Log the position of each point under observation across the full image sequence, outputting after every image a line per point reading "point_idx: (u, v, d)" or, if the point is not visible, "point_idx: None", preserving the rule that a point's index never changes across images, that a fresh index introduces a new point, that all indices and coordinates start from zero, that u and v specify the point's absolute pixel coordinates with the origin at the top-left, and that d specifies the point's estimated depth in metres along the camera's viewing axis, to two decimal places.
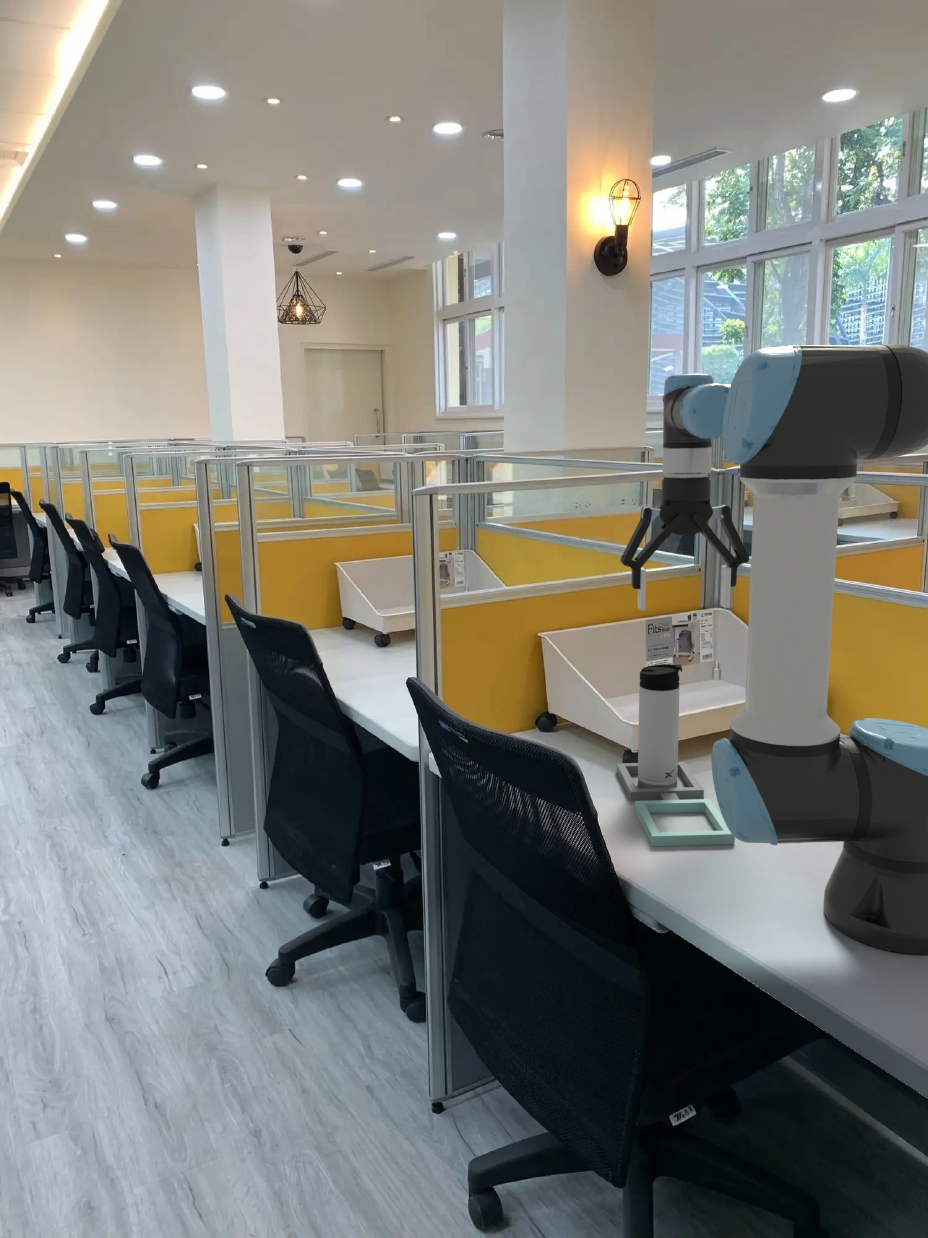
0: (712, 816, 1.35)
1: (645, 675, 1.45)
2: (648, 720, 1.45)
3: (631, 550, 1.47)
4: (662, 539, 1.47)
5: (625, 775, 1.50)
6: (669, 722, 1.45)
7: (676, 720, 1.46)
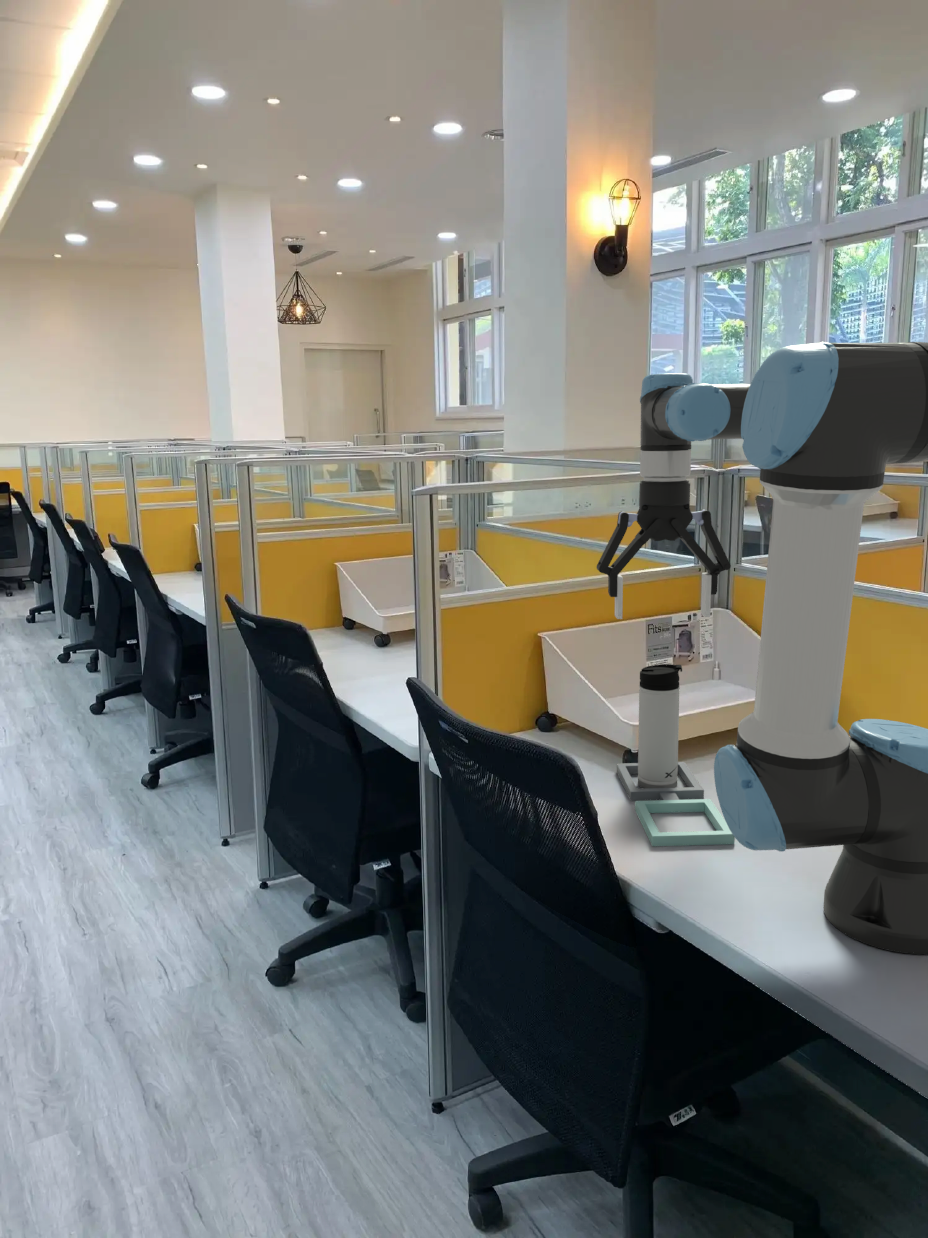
0: (712, 816, 1.35)
1: (645, 675, 1.45)
2: (648, 720, 1.45)
3: (607, 557, 1.41)
4: (639, 545, 1.41)
5: (625, 775, 1.50)
6: (669, 722, 1.45)
7: (676, 720, 1.46)
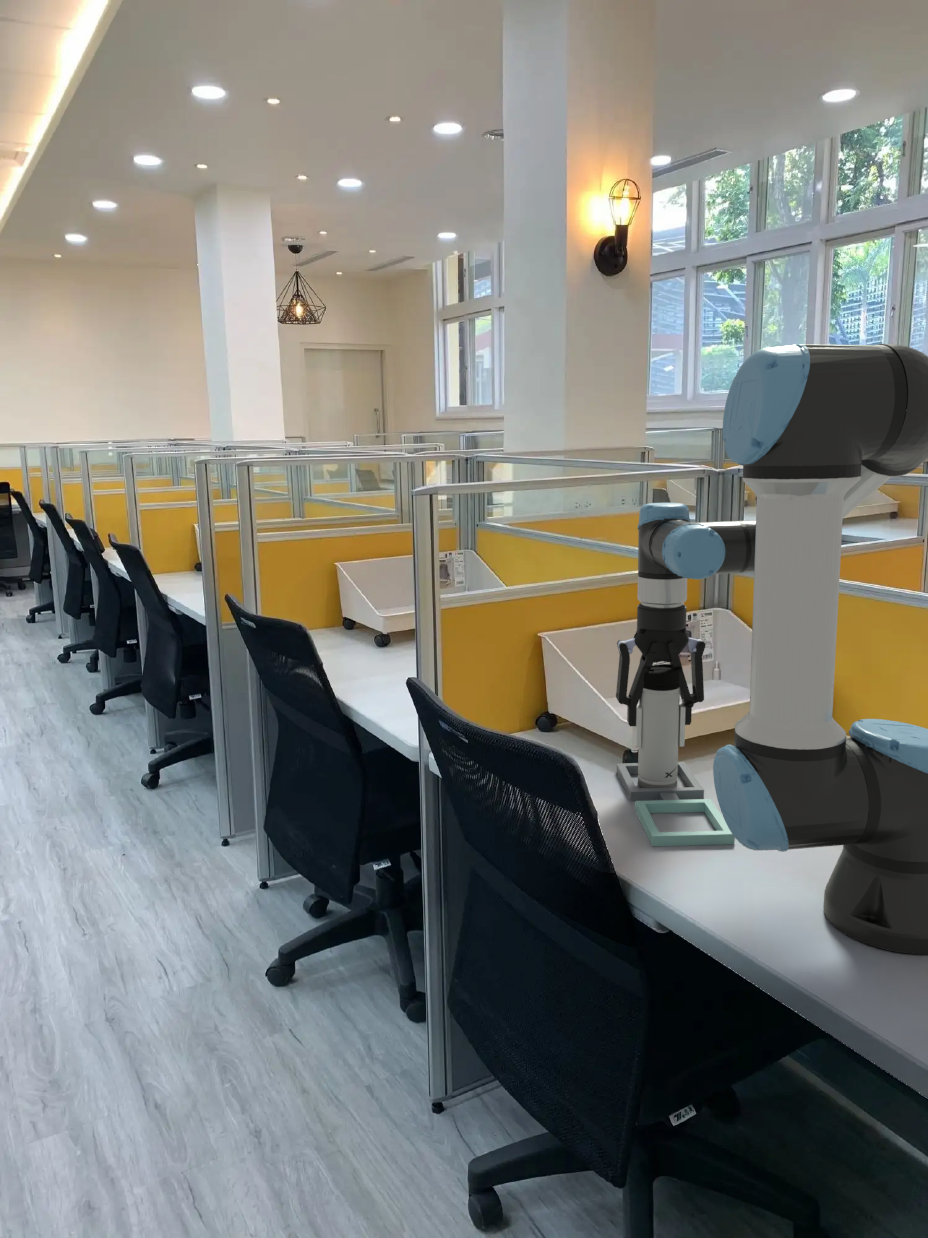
0: (712, 816, 1.35)
1: (645, 675, 1.45)
2: (648, 720, 1.45)
3: (622, 688, 1.45)
4: (647, 671, 1.45)
5: (625, 775, 1.50)
6: (669, 722, 1.45)
7: (676, 720, 1.46)
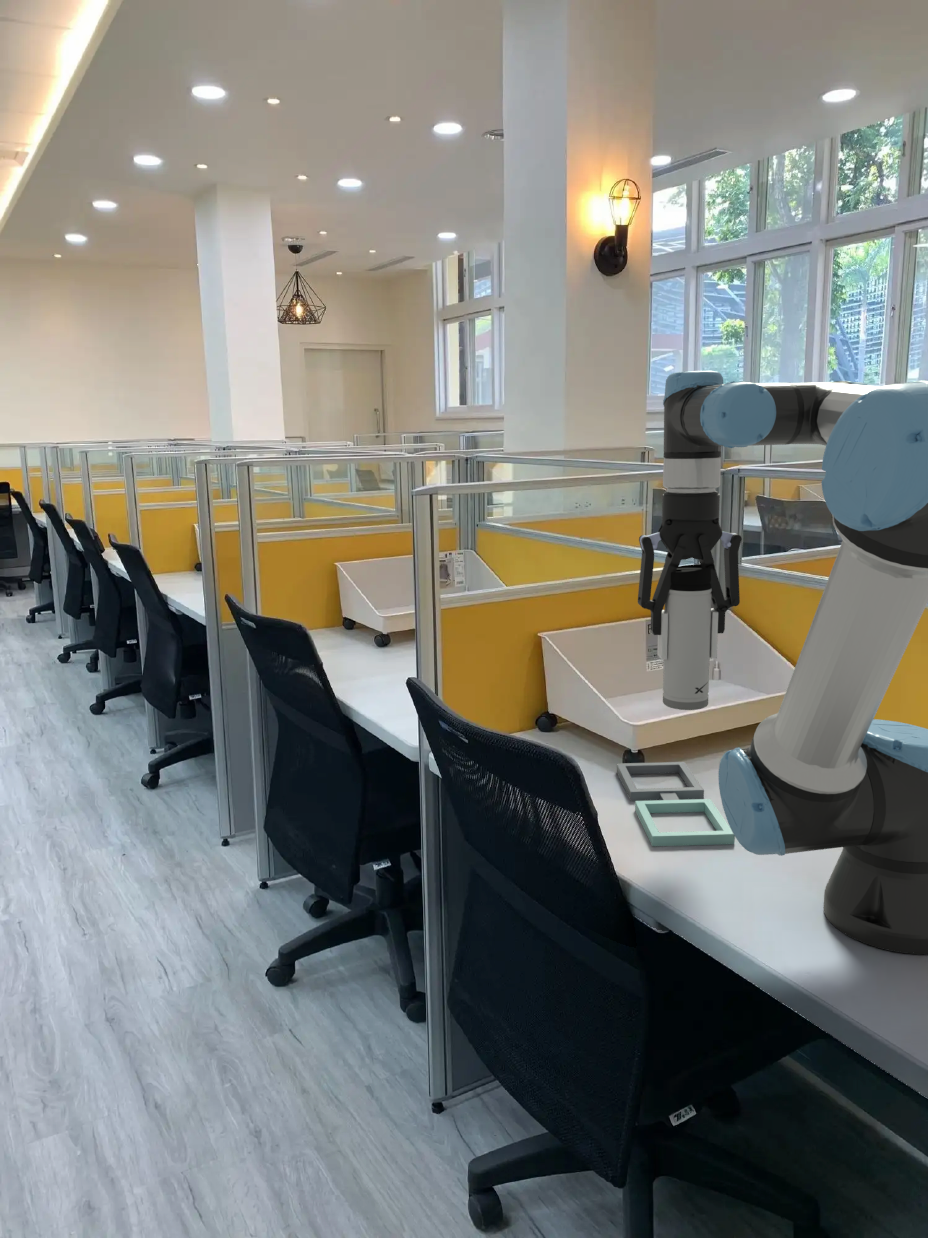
0: (712, 816, 1.35)
1: (672, 574, 1.25)
2: (675, 626, 1.26)
3: (645, 589, 1.26)
4: (673, 570, 1.26)
5: (625, 775, 1.50)
6: (700, 628, 1.25)
7: (708, 626, 1.26)
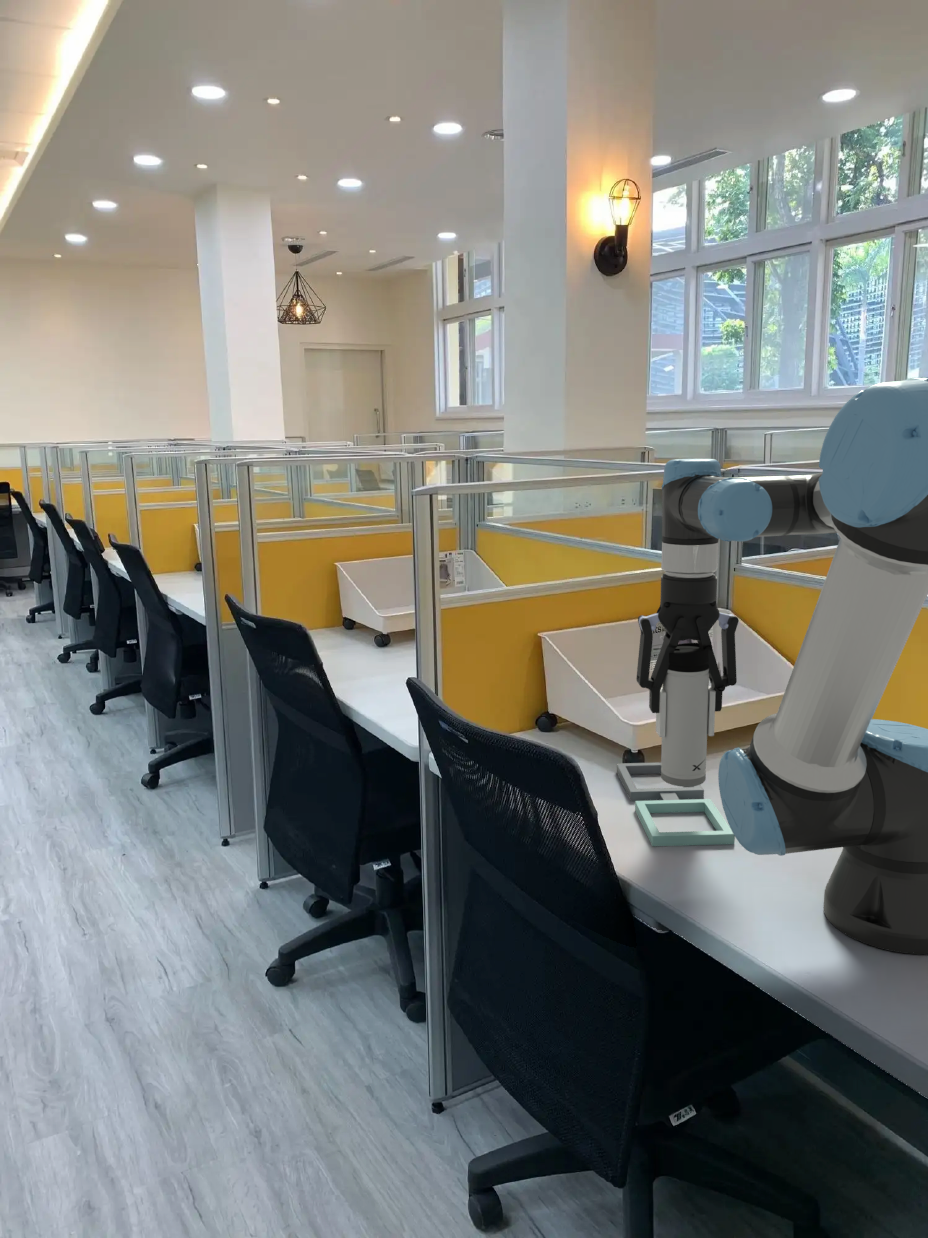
0: (712, 816, 1.35)
1: (670, 654, 1.28)
2: (673, 705, 1.28)
3: (644, 669, 1.28)
4: (672, 650, 1.28)
5: (625, 775, 1.50)
6: (698, 707, 1.28)
7: (705, 706, 1.29)
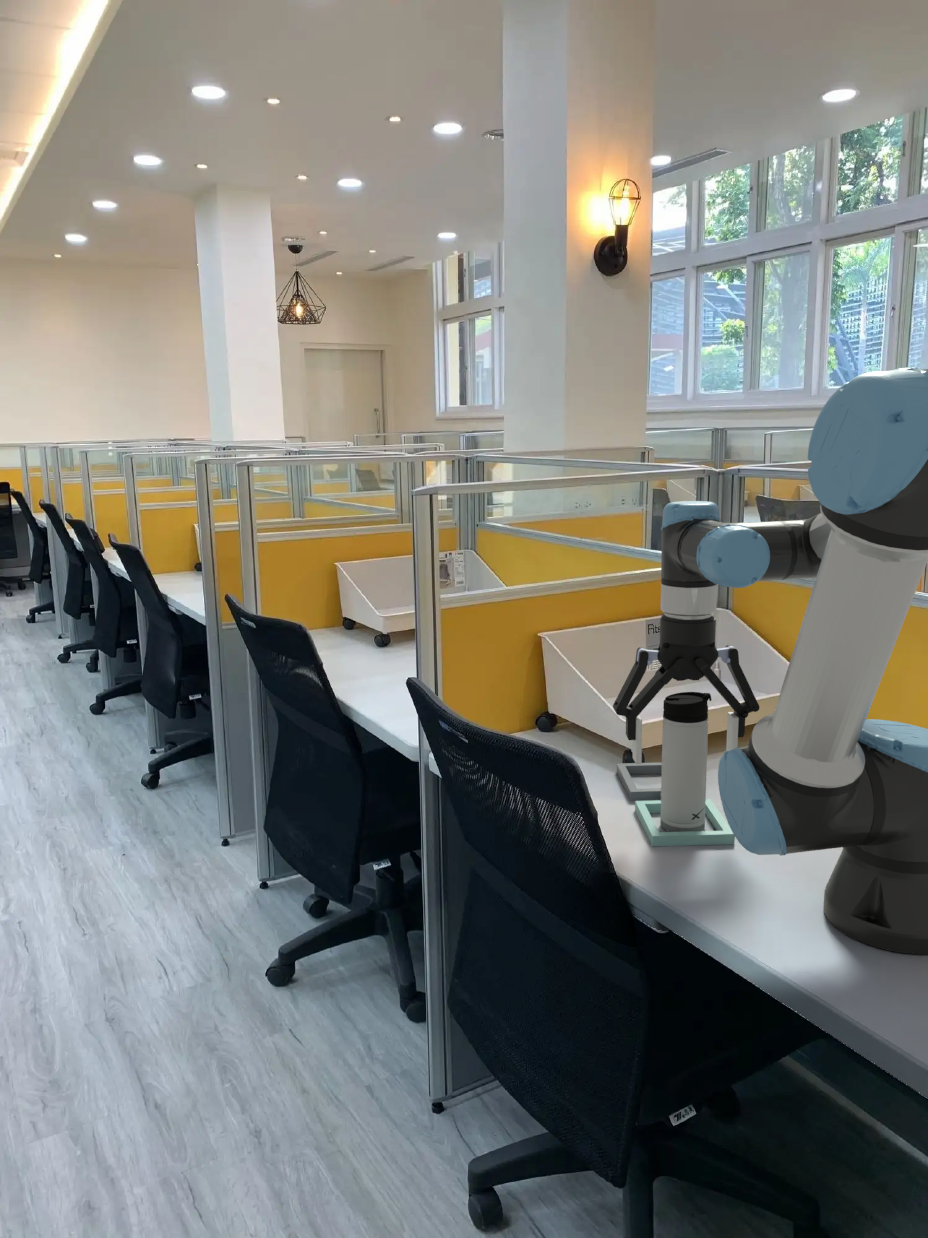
0: (712, 816, 1.35)
1: (670, 705, 1.29)
2: (673, 755, 1.30)
3: (625, 698, 1.29)
4: (660, 686, 1.29)
5: (625, 775, 1.50)
6: (697, 757, 1.29)
7: (704, 755, 1.30)
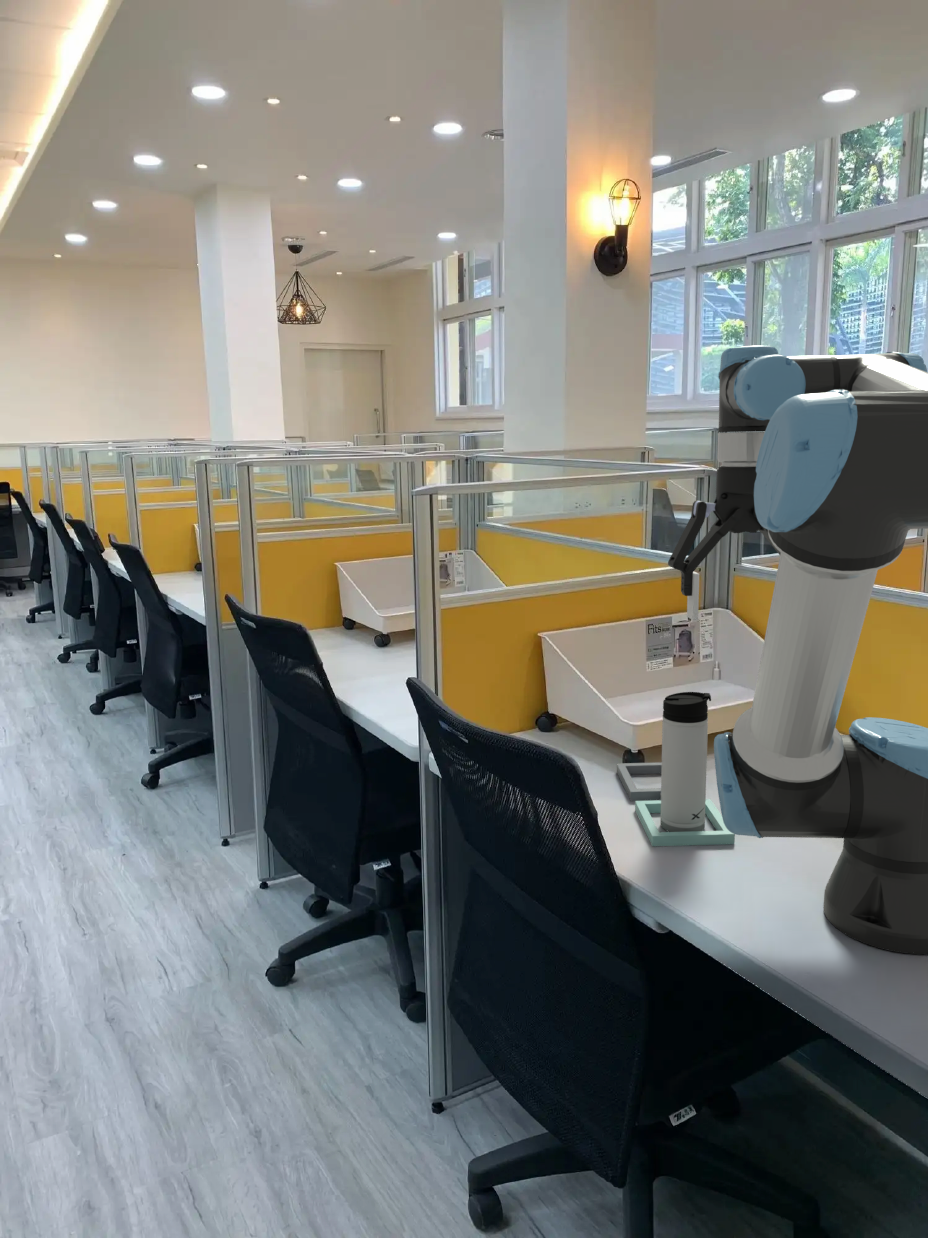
0: (712, 816, 1.35)
1: (670, 705, 1.29)
2: (672, 755, 1.30)
3: (682, 551, 1.27)
4: (718, 538, 1.27)
5: (625, 775, 1.50)
6: (696, 757, 1.29)
7: (704, 755, 1.30)
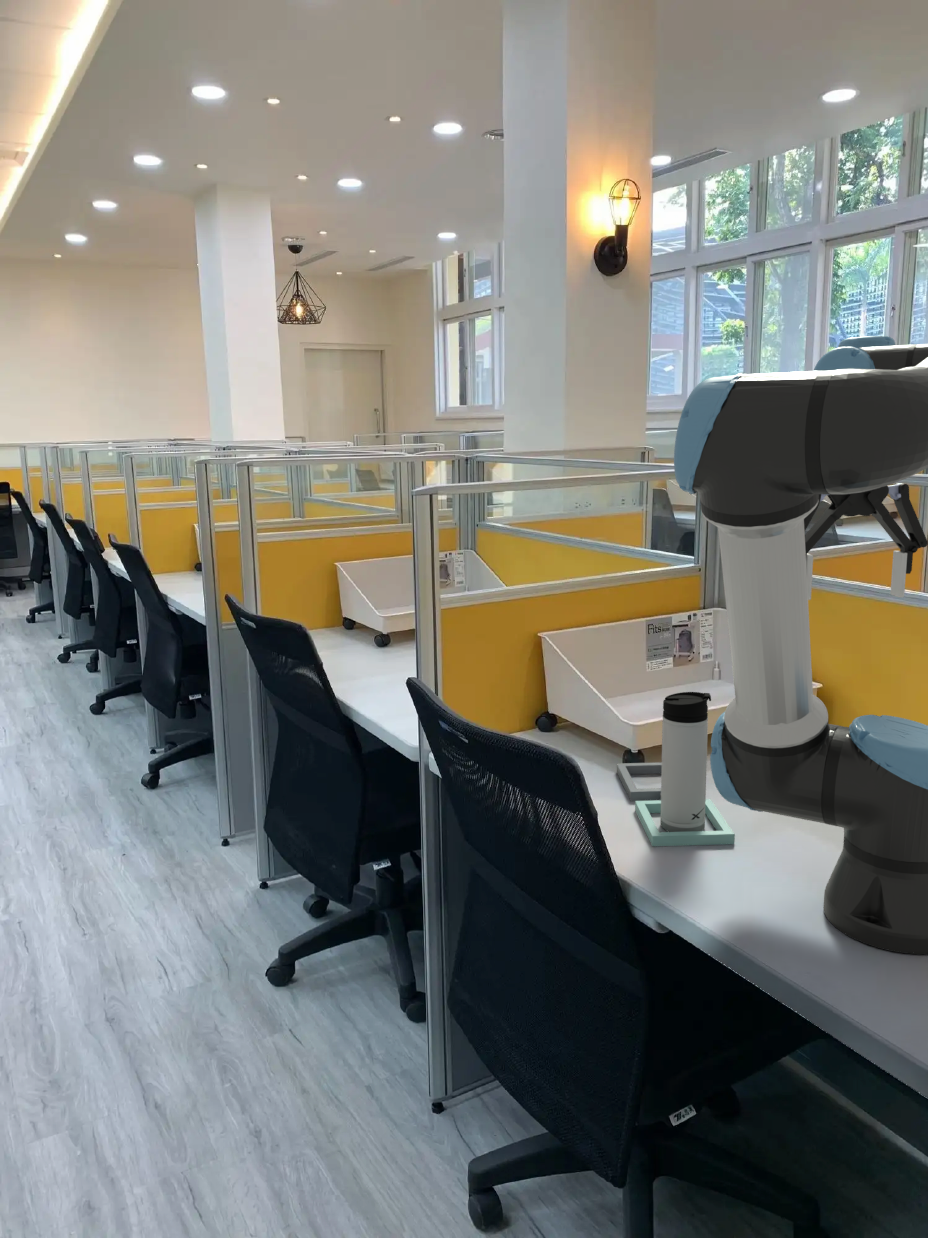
0: (712, 816, 1.35)
1: (670, 705, 1.29)
2: (672, 755, 1.30)
3: None
4: (832, 521, 1.32)
5: (625, 775, 1.50)
6: (697, 757, 1.29)
7: (704, 755, 1.30)
